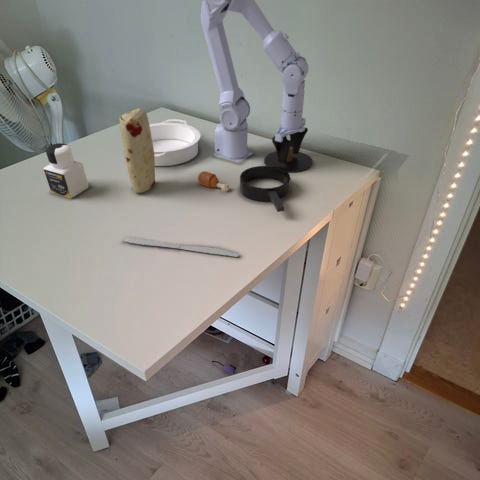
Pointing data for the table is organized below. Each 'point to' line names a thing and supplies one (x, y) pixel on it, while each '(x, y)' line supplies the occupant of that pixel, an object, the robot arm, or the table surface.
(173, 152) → the pot
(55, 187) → the medicine bottle
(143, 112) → the food model
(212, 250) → the butter knife
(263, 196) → the pan
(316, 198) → the table surface
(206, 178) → the drumstick
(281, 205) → the pan handle
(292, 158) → the pan lid
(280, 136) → the robot arm
